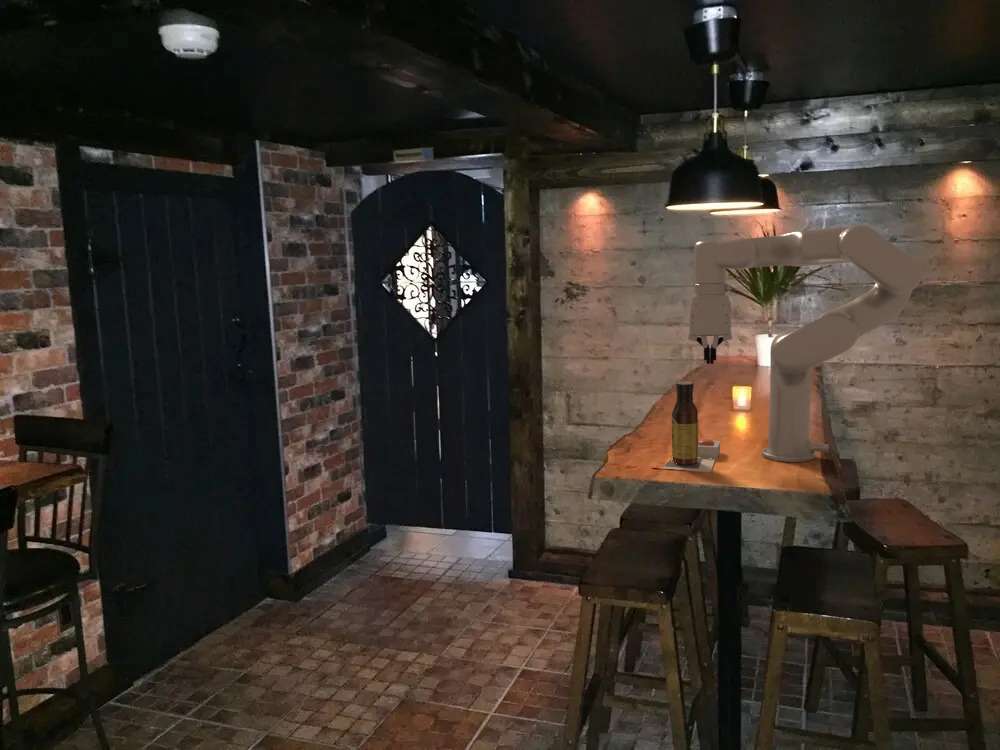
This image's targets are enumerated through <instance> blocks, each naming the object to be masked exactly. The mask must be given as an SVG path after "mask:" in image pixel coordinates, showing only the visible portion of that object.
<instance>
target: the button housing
mask: <svg viewBox="0 0 1000 750" xmlns="http://www.w3.org/2000/svg"><path fill="white" fill-rule="evenodd" d="M712 441H713V446H703V445H698V456H697V457H701V458H712V459H715V460H719V457H718V456H720V454H721V441H720V440H712ZM719 453H720V454H719Z"/></svg>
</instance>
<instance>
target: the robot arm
mask: <svg viewBox="0 0 1000 750" xmlns="http://www.w3.org/2000/svg"><path fill="white" fill-rule="evenodd" d="M693 250H694V260H693V261H694V263H693V264H694V296H693V295H692V296H691V300H690V305H689V318H688V319H689V323H688V324H689V325H688V326H689V330H688V331H689V332H688V336H687V338H688V341H693V342H697V343H698V344H699V345H700V346H701V347H702V348H703V361H706V365H710V364H711V365H713V364H714V361H717V348H718V346H720V345H721V344H722V343H723V342H727V341H731V340H733V335H732V331H731V330H732V311H731V302H730V297H729V295H726V293H727V292H730V291H732V285H729V284H728V283H727V284H726V277H727V276H726V272H727V271H726V269H729V270H730V269H731V270H747V269H753V268H764V267H776V266H777V267H778V266H789V267H810V266H822V265H834V264H844V263H845V264H846V263H848V264H849V263H852V264H854V266H856V267H857V268H858V269H859V270H861V271H862V272H863V273H864V274H865V275H867V276H869V277H870V278H871V279H873V280H874V281H875V284H874V285H873V287H872V288H871V289H870V290H869V291H867V292H866V293H864V294H862V295H860V296H858V297H856V298H855V299H852V300H851V301H848V302H846V303H844V304H842V305H840V306H837V307H835V308H832V309H830V310H827V311H825V312H823V313H822V314H820V315H818V317H817V318H816V319H815V320H814V321H811V322H809V323H808V324H805V325H803V326H801V327H799V328H797V329H786V330H783V331H781V332H779V333H778V334H777V335H776V336H775V337H774V338H773V340H772V342H771V345H770V352H769V353H770V364H769V365H770V368H769V369H770V374H769V404H768V405H769V407H768V409H769V410H768V440H767V441H768V447H767V446H766V447H764V448H762V450H761V456H763V457H764V458H765V459H769V460H773V461H777V462H786V463H788V462H789V463H801V462H804V463H805V462H810V461H812V460H814V459H816V453H815V452H820V453H829V451H830V449H829V448H830V447H829V444H828V443H823V442H814V441H811V436H810V422H811V421H810V420H811V419H810V418H811V416H810V415H811V396H812V393H811V391H812V368H814V367H816V366H818V365H821V364H823V363H825V362H827V361H829V360H832V359H834V358H836V357H837V356H840V355H842V354H843V353H845V352H847V351H849V350H850V349H851V348H852V347H853V346H854V345H855V344H856V342H857V341H858V338H860V337H862V336H865V335H866V334H868V333H870V332H872V331H875V330H876V329H878V328H880V327H883V326H884V325H885V324H887V323H889V322H891V321H892V320H894V319H896V317H897V316H899V315H900V314H901V313H902V311H903V310H904V309H905V308H906V306H907V304H908V302H909V300H910V298H911V295H912V292H913V290H915V289H917V287H918V285H919V284H920V282H921V280H922V276H923V275H922V268H921V266H920V264H919V263H918V261H917V260H916V259H915V258H913V257H912V256H910V255H909V254H908V253H906V252H905V251H903V250H902V249H901V248H899V247H898V246H897V245H895V244H894V243H892V242H891V241H890V240H888V239H887V238H886V237H884V236H883V235H882V234H880V233H879V232H878V231H876V229H874V228H872V227H871V226H869V225H865V224H857V225H848V226H838V227H829V228H827V227H826V228H825V227H824V228H816V229H815V228H814V229H804V230H798V231H797V230H796V231H792V232H789V233H784V234H779V235H771V236H770V235H769V236H759V237H751V238H735V239H730V240H723V241H722V240H702V241H698V242H696V243H695V245H694V249H693ZM707 337H712V344H711V345H709V342H708V338H707Z"/></svg>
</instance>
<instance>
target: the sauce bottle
mask: <svg viewBox="0 0 1000 750" xmlns="http://www.w3.org/2000/svg"><path fill="white" fill-rule="evenodd" d="M675 384H676V385H675V388H676V401H675V404H674V407H673V410H672V413H671V456H673V462H674V463H677V464H682V465H691V464H695V463H697V456H698V440H699V419H698V418H699V417H698V415H699V412H698V409H697V407H696V404H695V403H694V402H693V400H694V398H693V397H694V394H693V393H694V392H693V390H694V382H692V381H688V380H687V381H685V380H683V381H678V382H676V383H675Z"/></svg>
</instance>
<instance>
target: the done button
mask: <svg viewBox="0 0 1000 750" xmlns="http://www.w3.org/2000/svg"><path fill="white" fill-rule="evenodd" d="M713 441H714V440H711V439H705V438H701V439H698V445H703V446H713Z"/></svg>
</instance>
